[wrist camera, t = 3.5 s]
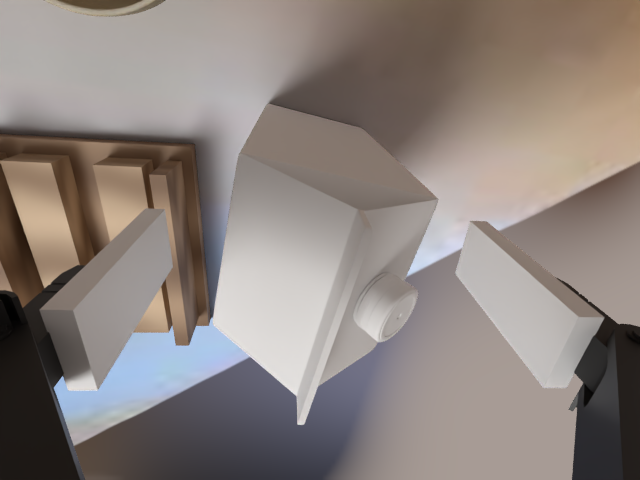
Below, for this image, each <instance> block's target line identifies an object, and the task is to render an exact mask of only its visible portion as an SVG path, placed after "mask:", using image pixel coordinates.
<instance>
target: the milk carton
mask: <svg viewBox="0 0 640 480" xmlns="http://www.w3.org/2000/svg"><path fill="white" fill-rule="evenodd" d="M437 203H438V198H436V197H435V195H434V194H433V193H431V192H430V191H429V190H428V189H427V188H426V187H425V186H424V185H423V184H422V183H421V182H420V181H419V180H418V179H417V178H415V177H414V176H413V175H412V174H411V173H410V172H409V171H408V170H407V169H406V168H405V167H404V166H402V165H401V164H400V163H399V162H398V161H397V160H396V159H395V158H394V157H393V156H392V155H391V154H390V153H388V152H387V151H386V150H385V149H384V148H383V147H382V146H381V145H380V144H379V143H378V142H377V141H375V140H374V139H373V138H372V137H371V136H370V135H369V134H368V133H367V132H366V131H365V130H364V129H362V128H360V127H356V126H352V125H348V124H344V123H341V122H337V121H333V120H329V119H325V118H321V117H318V116H314V115H310V114H306V113H302V112H299V111H295V110H291V109H287V108H283V107H280V106H276V105H272V104H267V105H266V106H265V108H264V110H263V112H262V114H261V115H260V117H259V119H258V121H257V123H256V125H255V126H254V128H253V130H252V132H251V134H250V136H249V137H248V139H247V141H246V143H245V145H244V146H243V148H242V150H241V152H240V153H239V156H238V160H237V166H236V171H235V178H234V184H233V191H232V197H231V203H230V210H229V216H228V223H227V229H226V236H225V242H224V249H223V255H222V262H221V268H220V275H219V281H218V288H217V294H216V301H215V308H214V315H213V325H214V326H215V327H216V328H217V329H218V330H220V331H221V332H222V333H223V334H224V335H226V336H227V337H228V338H229V339H230V340H231V341H233V342H234V343H235V344H236V345H237V346H238V347H240V348H241V349H242V350H243V351H244V352H245V353H247V354H248V355H249V356H250V357H251V358H253V359H254V360H255V361H256V362H257V363H258V364H260V365H261V366H262V367H263V368H264V369H266V370H267V371H268V372H269V373H270V374H271V375H273V376H274V377H275V378H276V379H277V380H278V381H280V382H281V383H282V384H283V385H284V386H286V387H287V388H288V389H289V390H290V391H291V392H292V393H294V394H295V395H296V396H297V424H299V425H303V424H304V423H305V421H306V418H307V415H308V412H309V410H310V406H311V404H312V401H313V398H314V396H315V393H316V389H317V387H318V386H319V385H321V384H322V383H324V382H325V381H326V380H328V379H330V378H331V377H333V376H334V375H336V374H337V373H339V372H340V371H342V370H343V369H345V368H346V367H348V366H349V365H351V364H352V363H354V362H355V361H357V360H358V359H360V358H361V357H363V356H364V355H366V354H367V353H369V352H370V351H372V350H373V349H374V348H375V346H376V344H377V342H384V341H386V340H388V339H389V338H391V337H392V336H393V335H395V334H396V333H397V332H398V331H399V330H400V329H401V328H402V327H403V325H404V324H405V323H406V321H407V319H408V318H409V316H410V315H411V313H412V311H413V309H414V307H415V304H416V301H417V297H418V291H417V289H416V288H415V287H413V286H411V285H410V284H408V283H407V282H404V280H405V278H406V276H407V273H408V271H409V269H410V266H411V264H412V262H413V260H414V257H415V255H416V253H417V250H418V248H419V246H420V244H421V241H422V239H423V237H424V234H425V232H426V230H427V227H428V225H429V222H430V220H431V218H432V215H433V213H434V210H435V208H436V205H437Z"/></svg>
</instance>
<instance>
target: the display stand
mask: <svg viewBox="0 0 640 480" xmlns="http://www.w3.org/2000/svg"><path fill="white" fill-rule="evenodd" d="M145 208H149V209H165V213H166V220H167V227H168V234H169V242H170V249H171V256H172V263H173V267H172V269H171V271H170V272H169V274H168V276H167V277H166V279H165V281H164V282H163V284H162V286H161V287H160V289H159V290H158V292H157V294H156V295H155V297H154V299H153V300H152V302H151V304H150V305H149V307H148V309H147V310H146V312H145V314H144V315H143V317H142V318H141V320H140V322H139V323H138V325H137V327H136V328H135V330H134V332H169V331H170V329H171V326H173V330H174V336H175V343H176V345H189V344H190V341H191V338H192V335H193V332H194V330H195V327H196V326H209V323H210V319H211V315H210V305H209V294H208V283H207V272H206V262H205V251H204V240H203V229H202V218H201V208H200V197H199V186H198V175H197V165H196V154H195V144H182V143H163V142H143V141H124V140H105V139H86V138H67V137H48V136H29V135H10V134H0V290H7V291H11V292H14V293H15V294H16V295H17V296H18V297H19V300H20V303H21V305H22V308H23V307H24V306H25V305H26V304H28V303H29V302H30V301H31V300H32V299H33V298H34V297H35V296H37V295H38V294H39V293H42V290H43V289H44V288H46V287H47V286H48V285H51V282H52V281H53V280H55V279H56V278H57V277H58V276H59V275H60V274H61V273H63V272H65V271H67V270H69V269H71V268H73V267H75V266H77V265H87V264H88V263H89V262H90V261H91V260H92V259H93V258H94V257H95V256H96V255H97V254H98V253H99V252H100V251H101V250H103V249H104V248H105V247H106V246H107V245H108V244H109V243H110V242H111V241H112V240H113V239H114V238H115V237H116V236H117V235H118V234H119V233H120V232H121V231H122V230H123V229H125V228H126V227H127V226H128V225H129V224H130V223H131V222H132V221H133V220H134V219H135V218H136V217H137V216H138V215H139V214H140V213H141V212H142V211H143V210H144V209H145Z"/></svg>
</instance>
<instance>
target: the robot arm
mask: <svg viewBox="0 0 640 480" xmlns="http://www.w3.org/2000/svg"><path fill="white" fill-rule="evenodd" d="M172 267H173V263H172V256H171V249H170V242H169V234H168V227H167V220H166V213H165V209H149V208H145V209H144V210H143V211H142V212H141V213H140V214H139V215H138V216H137V217H136V218H135V219H134V220H133V221H132V222H131V223H130V224H129V225H128V226H127V227H126V228H125V229H123V230H122V231H121V232H120V233H119V234H118V235H117V236H116V237H115V238H114V239H113V240H112V241H111V242H110V243H109V244H108V245H107V246H106V247H105V248H104V249H103V250H101V251H100V252H99V253H98V254H97V255H96V256H95V257H94V258H93V259H92V260H91V261H90V262H89V263H88V264H87V265H77V266H75V267H73V268H71V269H69V270H67V271H65V272H63V273H61V274H60V275H59V276H58V277H57V278H56V279H55V280H53V281H52V282H51V285H48V286H47V287H46V288H44V289H43V290H42V293H39V294H38V295H37V296H35V297H34V298H33V299H32V300H31V301H30V302H29V303H28V304H26V305H25V306H24V307H23V308H22V305H21V303H20V300H19V297H18V296H17V295H16V294H15V293H14V292H11V291H7V290H0V480H85V478H84V475H83V472H82V469H81V466H80V463H79V460H78V457H77V455H76V452H75V449H74V446H73V443H72V440H71V437H70V434H69V431H68V428H67V425H66V422H65V419H64V416H63V413H62V410H61V408H60V405H59V402H58V399H57V396H56V393H55V391H54V386H55V385H56V384H57V382H58V381H59V380H60V378H61V377H62V376H63V377H64V380H65V383H66V385H67V388H68V391H86V390H98V389H99V388H100V386H101V384H102V383H103V381H104V379H105V378H106V376H107V374H108V373H109V371H110V369H111V368H112V366H113V365H114V363H115V361H116V360H117V358H118V356H119V355H120V353H121V351H122V350H123V348H124V346H125V345H126V343H127V341H128V340H129V338H130V337H131V335H132V333H133V332H134V330H135V328H136V327H137V325H138V323H139V322H140V320H141V318H142V317H143V315H144V314H145V312H146V310H147V309H148V307H149V305H150V304H151V302H152V300H153V299H154V297H155V295H156V294H157V292H158V290H159V289H160V287H161V286H162V284H163V282H164V281H165V279H166V277H167V276H168V274H169V272H170V271H171V269H172ZM455 274H456V275H457V277H458V278H459V279H460V280H461V282H462V283H463V284H464V285H465V287H466V288H467V289H468V291H469V292H470V293H471V295H472V296H473V297H474V299H475V300H476V301H477V302H478V304H479V305H480V306H481V308H482V309H483V310H484V311H485V313H486V314H487V315H488V317H489V318H490V319H491V321H492V322H493V323H494V325H495V326H496V327H497V328H498V330H499V331H500V332H501V334H502V335H503V336H504V337H505V339H506V340H507V341H508V343H509V344H510V345H511V346H512V348H513V349H514V350H515V352H516V353H517V354H518V356H519V357H520V358H521V360H522V361H523V362H524V363H525V365H526V366H527V367H528V369H529V370H530V371H531V372H532V374H533V375H534V376H535V378H536V379H537V380H538V382H539V383H540V384H541V385H542V387H543V388H567V386H568V384H569V382H570V381H571V379H572V377H573V375H574V373H575V374H576V375H577V376H578V377H579V378H580V379H581V380H582V381H583V385H582V387H581V388H580V390H579V392H578V393H577V395H576V397H575V399H574V400H573V402H572V404H571V406H570V408H569V410H571V411H573V410H574V409H575V407H577V420H576V433H575V447H574V461H573V475H572V480H640V327H638V326H634V325H630V324H629V325H628V324H617V323H616V322H615V321H614V320H613V319H611V318H610V317H609V316H608V315H606V314H605V313H604V312H603V311H601V310H600V309H599V308H597V307H596V306H595V305H594V304H592V303H591V302H588V300H587V299H586V298H585V297H584V296H582V295H581V294H579V293H578V292H577V291H576V290H575V289H574V288H572V287H571V286H570V285H569V284H567V283H565V282H564V281H561V280H560V279H558V278H556V277H554V276H553V275H552V274H550V273H549V272H548V271H547V270H546V269H544V268H543V267H542V266H541V265H539V264H538V263H537V262H536V261H534V260H533V259H532V258H531V257H530V256H528V255H527V254H526V253H525V252H523V251H522V250H521V249H520V248H518V247H517V246H516V245H515V244H514V243H512V242H511V241H510V240H508V239H507V238H506V237H505V236H504V235H502V234H501V233H500V232H499V231H498V230H496V229H495V228H494V227H493V226H491V225H490V224H489V223H488V222H485V221H470V223H469V227H468V230H467V234H466V237H465V241H464V244H463V248H462V252H461V255H460V259H459V262H458V266H457V269H456V273H455Z"/></svg>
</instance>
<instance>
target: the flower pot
mask: <svg viewBox="0 0 640 480" xmlns="http://www.w3.org/2000/svg"><path fill="white" fill-rule="evenodd" d="M44 1H46V2H48V3H50V4H53V5H55V6H58V7H60V8H63V9H66V10H69V11H72V12H75V13H80V14H85V15H92V16H123V15H130V14H135V13H139V12H142V11H146V10H148V9H151V8H153V7H155V6H157V5H159V4H161V3H162V2H164V1H165V0H44Z"/></svg>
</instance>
